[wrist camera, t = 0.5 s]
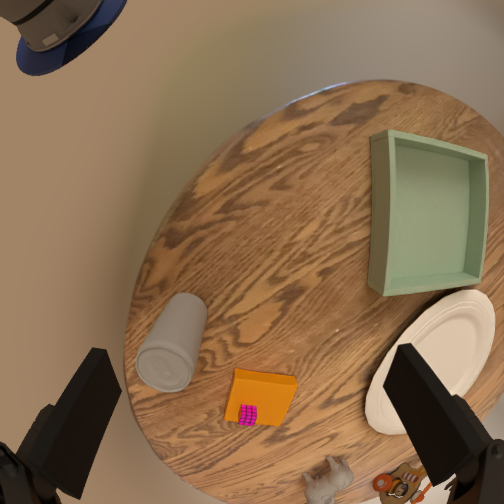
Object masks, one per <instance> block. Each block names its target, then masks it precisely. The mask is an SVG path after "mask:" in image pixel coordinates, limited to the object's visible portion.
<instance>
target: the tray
mask: <svg viewBox="0 0 504 504" xmlns="http://www.w3.org/2000/svg"><path fill="white" fill-rule="evenodd" d="M370 145H371V168H372V218H371V241H370V257H369V270H368V280H367V285H368V286H370V287H371V288H372V289H374V290H375V291H376V292H378V293H379V294H380V295H382V296H383V297H385V296H394V295H403V294H411V293H419V292H427V291H434V290H441V289H448V288H454V287H461V286H467V285H473V284H479V283H481V278H482V272H483V265H484V258H485V250H486V241H487V229H488V211H489V175H488V157H487V155H486V154H483V153H480V152H477V151H474V150H471V149H468V148H465V147H461V146H458V145H454V144H451V143H447V142H444V141H440V140H436V139H432V138H428V137H424V136H420V135H415V134H411V133H406V132H401V131H396V130H390V129H387V130H384V131H382V132H379V133H377V134H374V135H372V136H370Z"/></svg>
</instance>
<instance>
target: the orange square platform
mask: <svg viewBox="0 0 504 504" xmlns="http://www.w3.org/2000/svg"><path fill="white" fill-rule="evenodd" d="M297 387H298V384H297V381H296V378H295V376H289V375H280V374H271V373H264V372H257V371H250V370H243V369H237V368H235V370H234V374H233V378H232V382H231V386H230V390H229V393H228V397H227V401H226V405H225V409H224V420H227V421H234V422H238V424H239V425H247V426H254V424H260V425H272V426H281V424H282V422H283V419H284V417H285V415H286V413H287V411H288V408H289V406H290V404H291V401H292V399H293V397H294V394H295V392H296V390H297Z"/></svg>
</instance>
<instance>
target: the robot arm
mask: <svg viewBox="0 0 504 504" xmlns="http://www.w3.org/2000/svg"><path fill="white" fill-rule="evenodd" d="M103 2H104V0H0V16H1V17H3V18H4V19H6V20H8V21H9V22H11V23H12V24H14V25H16V26H17V28H18V30H19V32H20V34H21V35H22V37H23V38H24V39H25V43H26V45H27V46H28V47H29V48H30V49H31V50H33V51H35V52H37V53H47V52H50V51H53V50H55V49H57V48H59V47H61V46H62V45H64V44H65V43H67V42H68V41H70V40H71V39H72V38H74V37H75V36H76V35H77V34H78V33H79V32H81V31H82V30H83V29H84V28H85V27H86V26H87V25H88V24H89V23H90V22H91V20H92V19H93V18H94V17H95V15H96V14H97V13H98V11H99V10H100V8H101V6H102V4H103ZM382 387H383V388H384V390H385V392H386V394H387V396H388V398H389V400H390V401H391V403H392V405H393V407H394V409H395V411H396V413H397V415H398V416H399V418H400V420H401V422H402V424H403V426H404V428H405V430H406V432H407V434H408V436H409V438H410V440H411V442H412V444H413V446H414V448H415V450H416V452H417V454H418V456H419V458H420V460H421V462H422V464H423V466H424V468H425V471H426V473H427V475H428V477H429V479H430V481H431V484H432V486H433V487H434V486H436V485H438V484H440V483H442V482H444V481H446V480H448V479H449V478H450V477H451V476H452V475H453V474H454V473H455V474H456V477H455V478H454V479H453V480H452V481H451V482H449V483H448V484H447V485H446V487H445V489H444V490H447V489H448V488H449V487H450V486H452V487H451V488H450V489H449V491H450V495H449V498H448V501H447V504H504V440H501V439H495V440H493V439H492V438H491V436H490V435H489V434H488V432H487V431H486V429H485V428H484V426H483V425H482V423H481V422H480V420H479V419H478V418H477V416H475V413H474V412H473V411H472V409H470V406H469V405H468V404H467V402H466V401H465V400H464V399H463V398H461V397H460V396H459V395H457V394H455V395H451V394H450V393H449V391H448V390H447V389H446V387H445V386H444V385H443V383H442V382H441V381H440V379H439V378H438V377H437V375H436V374H435V373H434V371H433V370H432V369H431V367H430V366H429V365H428V364H427V362H426V361H425V360H424V358H423V357H422V356H421V355H420V353H419V352H418V351H417V350H416V348H415V347H414V346H413V345H412V343H406V344H400V345H398V346H397V349H396V352H395V355H394V358H393V360H392V363H391V366H390V369H389V371H388V374H387V376H386V379H385V381H384V384H383V386H382ZM121 392H122V390H121V388H120V386H119V383H118V380H117V378H116V375H115V373H114V370H113V367H112V365H111V362H110V359H109V356H108V353H107V350H106V349H99V348H92V349H91V350H90V352H89V353H88V355H87V356H86V358H85V359H84V361H83V362H82V364H81V365H80V367H79V368H78V370H77V371H76V373H75V374H74V376H73V377H72V379H71V380H70V382H69V384H68V385H67V387H66V389H65V390H64V392H63V393H62V395H61V396H60V398H59V400H58V401H57V403H56V405H55V406H53V405H51V404H48V405H47V406H46V407H44V408H43V409H42V410H41V411H40V412H39V414H38V416H37V417H36V419H35V420H36V421H34V422H33V424H32V426H31V428H30V429H29V431H28V433H27V434H26V436H25V438H24V440H23V442H22V443H21V445H20V447H19V449H18V451H17V452H16V454H14V453H13V452H12V451H11V450H10V449H9V448H8V447H7V446H6V444H4V443H2V442H0V504H62V503H61V501H60V498H59V496H58V495H57V493H56V488H58V489H60V490H61V491H62V492H63V493H65V494H67V495H69V496H72V497H74V498H76V499H79V500H80V498H81V496H82V493H83V489H84V487H85V484H86V481H87V478H88V475H89V472H90V470H91V467H92V464H93V461H94V459H95V456H96V453H97V451H98V448H99V445H100V443H101V440H102V438H103V435H104V433H105V430H106V428H107V425H108V423H109V421H110V418H111V416H112V413H113V411H114V409H115V406H116V404H117V402H118V399H119V397H120V395H121Z"/></svg>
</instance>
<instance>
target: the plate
mask: <svg viewBox="0 0 504 504" xmlns="http://www.w3.org/2000/svg"><path fill="white" fill-rule="evenodd" d="M494 334H495V314H494V309H493V305H492V303H491V302H490V300H489V299H488V297H487V296H486V295H485V294H483V293H481V292H479V291H478V290H475V289H470V290H459V291H457V292H454V293H452V294H450V295H447V296H445V297H443V298H442V299H440V300H439V301H437V302H436V303H435V304H433V305H432V306H430V307H429V308H427V309H426V310H425V311H424V312H423V313H422V314H421V315H420V316H419V317H418V318H417V319H416V320H415V321H414V322H412V323H411V324H410V325H409V326H408V327H407V328H406V329H405V330H404V331H403V333H402V334H401V335H400V337H399V338H398V339H397V341H396V342H395V343H394V344H393V346H392V347H391V348H390V349H389V351H388V352H387V353H386V355H385V357H384V358H383V360H382V362H381V364H380V365H379V367H378V369H377V370H376V372H375V374H374V375H373V378H372V381H371V384H370V386H369V389H368V392H367V394H366V402H365V414H366V417H367V420H368V423H369V425H370V426H371V427H372V428H374V429H375V430H376V431H377V432H380V433H384V434H388V435H395V434H404V433H407V432H406V430H405V428H404V426H403V424H402V422H401V420H400V418H399V416H398V415H397V413H396V411H395V409H394V407H393V405H392V403H391V401H390V400H389V398H388V396H387V394H386V392H385V390H384V388H383V387H382V386H383V384H384V381H385V379H386V376H387V374H388V371H389V369H390V366H391V363H392V360H393V358H394V355H395V352H396V349H397V346H398V345H400V344H406V343H412V345H413V346H414V347H415V348H416V350H417V351H418V352H419V353H420V355H421V356H422V357H423V358H424V360H425V361H426V362H427V364H428V365H429V366H430V367H431V369H432V370H433V371H434V373H435V374H436V375H437V377H438V378H439V379H440V381H441V382H442V383H443V385H444V386H445V387H446V389H447V390H448V391H449V393H450V394H451V395H455V394H457V395H459V396H460V397H461V398H462V397H463V396H464V395H465V393H466V392H467V391H468V390H469V388H470V387H471V386H472V385H473V383H474V382H475V380H476V379H477V377H478V375H479V374H480V372H481V370H482V369H483V367H484V364H485V362H486V360H487V357H488V355H489V353H490V350H491V346H492V342H493V338H494Z"/></svg>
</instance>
